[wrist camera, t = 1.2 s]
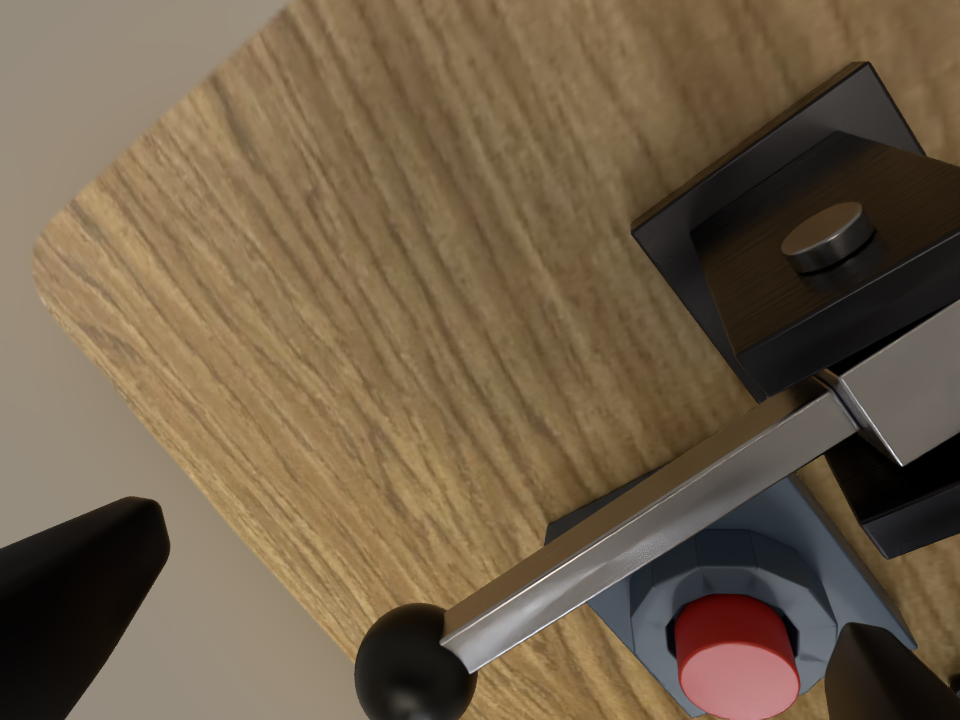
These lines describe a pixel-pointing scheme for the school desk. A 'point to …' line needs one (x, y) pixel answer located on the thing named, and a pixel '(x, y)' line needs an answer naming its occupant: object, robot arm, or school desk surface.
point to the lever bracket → (824, 272)
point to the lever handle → (668, 515)
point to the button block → (748, 582)
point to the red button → (735, 658)
